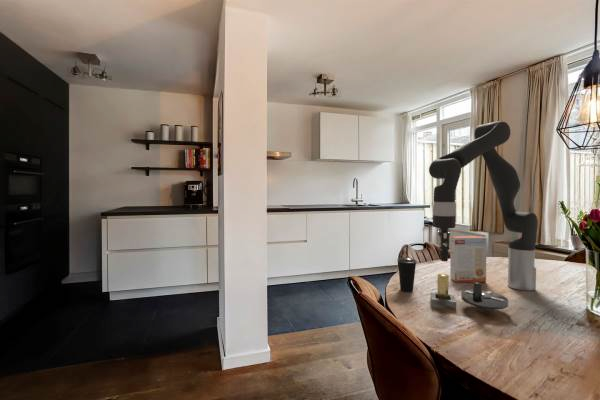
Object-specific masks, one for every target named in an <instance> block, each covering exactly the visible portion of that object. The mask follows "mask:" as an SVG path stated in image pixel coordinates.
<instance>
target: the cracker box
mask: <svg viewBox="0 0 600 400" xmlns="http://www.w3.org/2000/svg"><path fill="white" fill-rule="evenodd" d="M449 251H450V262H449V263H450V268H449V269H450V273H449V274H450V280H452V281H453V282H456V283H473V282H479V283H487V237H484V236H482V235H479V236H478V235H450V245H449Z"/></svg>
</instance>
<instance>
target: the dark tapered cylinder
mask: <svg viewBox="0 0 600 400" xmlns="http://www.w3.org/2000/svg"><path fill="white" fill-rule="evenodd" d="M417 262H418V261H417V260H416V259H415V258H413V257H410V256H409V245H408V244H407V245H406V246H405V256H403V257H400V258H398V259H397V264H398V276H399V287H400V291H402V292H405V293H412V292H414V285H415V274H416V265H417Z"/></svg>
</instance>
